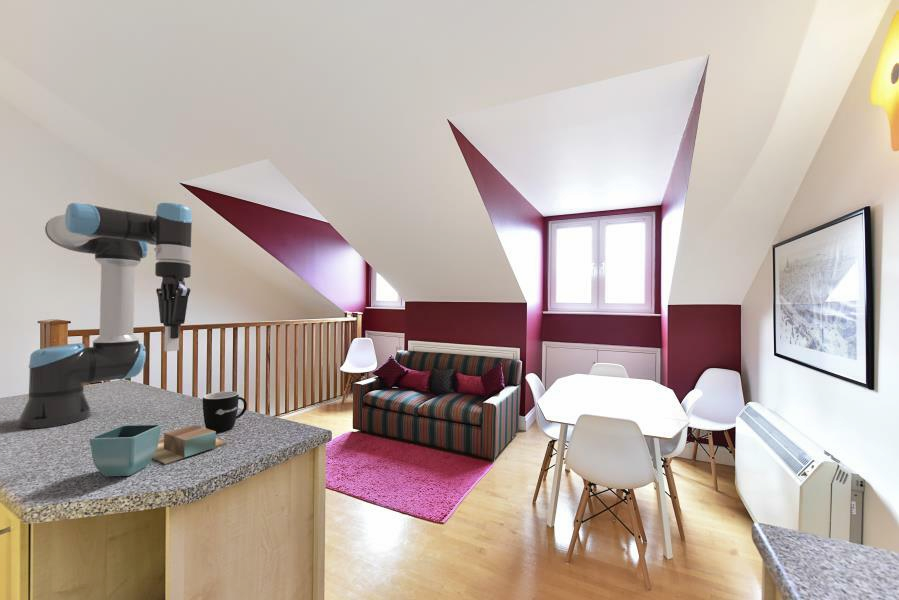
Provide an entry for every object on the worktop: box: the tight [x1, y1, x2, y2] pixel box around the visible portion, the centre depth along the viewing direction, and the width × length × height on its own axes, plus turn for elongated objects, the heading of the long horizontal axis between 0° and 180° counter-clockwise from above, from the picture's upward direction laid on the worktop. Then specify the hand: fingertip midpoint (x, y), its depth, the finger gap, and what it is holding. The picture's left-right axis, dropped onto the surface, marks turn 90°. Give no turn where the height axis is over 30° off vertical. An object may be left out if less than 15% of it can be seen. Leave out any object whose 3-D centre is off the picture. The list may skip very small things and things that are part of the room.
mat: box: [151, 436, 228, 465], centre depth 94 cm, size 18×14×1 cm
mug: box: [202, 390, 248, 434], centre depth 108 cm, size 12×9×10 cm
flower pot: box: [89, 423, 162, 477], centre depth 80 cm, size 9×9×9 cm
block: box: [163, 424, 217, 458], centre depth 92 cm, size 4×7×10 cm
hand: (171, 350), depth 97 cm, fingers closed
